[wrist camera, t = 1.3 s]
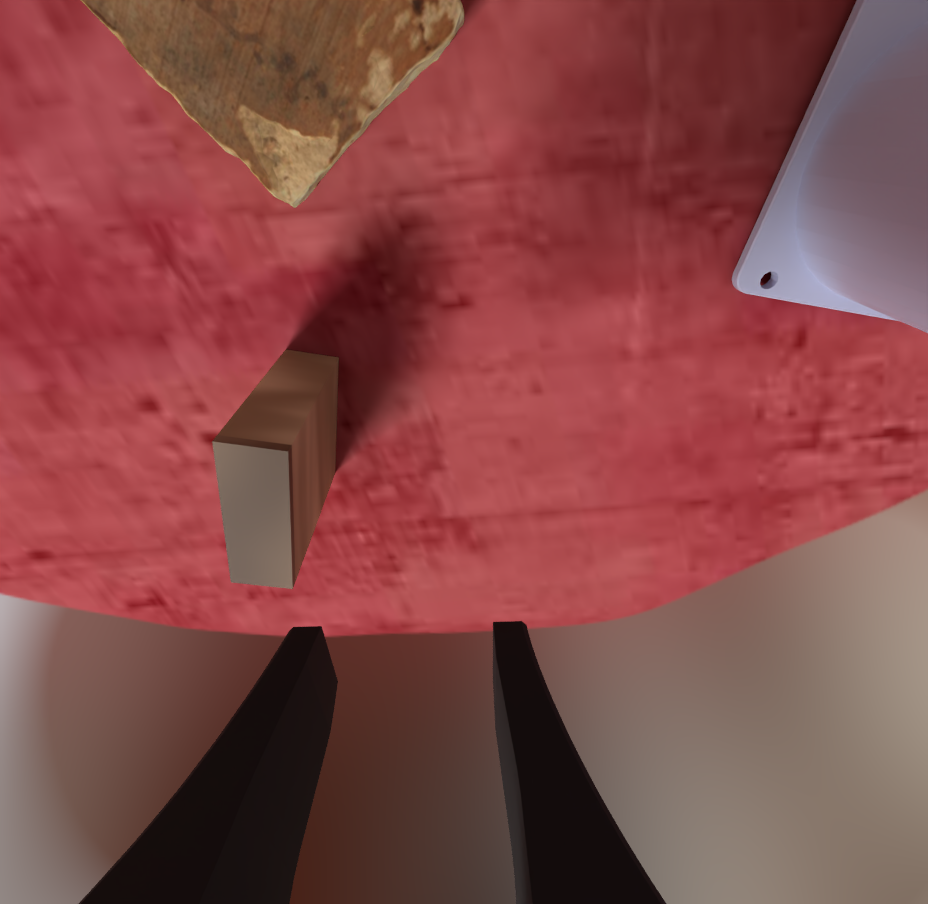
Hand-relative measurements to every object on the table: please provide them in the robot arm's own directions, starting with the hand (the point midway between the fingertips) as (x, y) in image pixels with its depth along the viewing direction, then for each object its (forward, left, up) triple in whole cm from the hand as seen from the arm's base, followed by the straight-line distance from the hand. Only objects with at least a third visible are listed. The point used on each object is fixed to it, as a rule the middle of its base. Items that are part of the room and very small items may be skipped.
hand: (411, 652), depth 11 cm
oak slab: (+5, 0, -10) cm, 11 cm away
